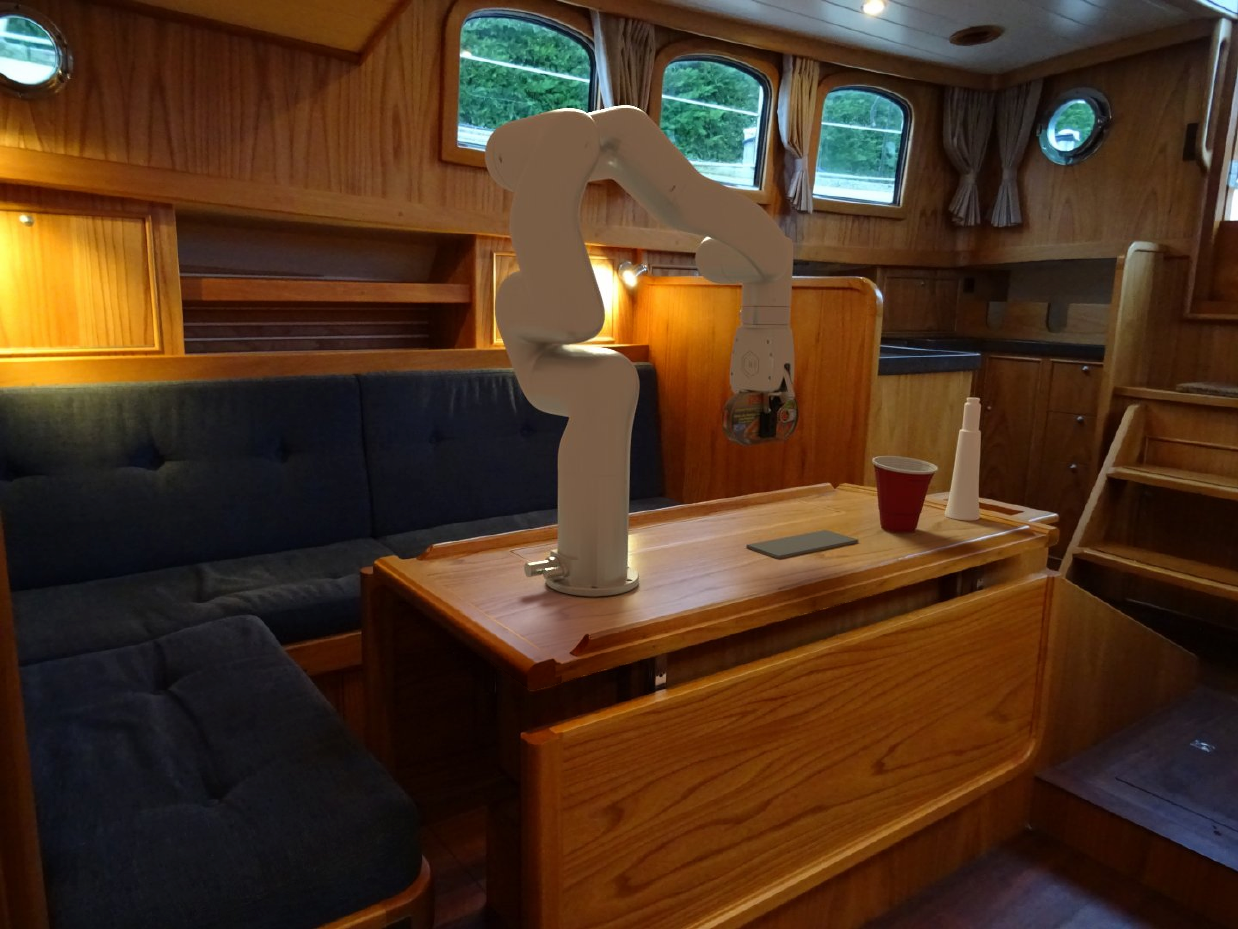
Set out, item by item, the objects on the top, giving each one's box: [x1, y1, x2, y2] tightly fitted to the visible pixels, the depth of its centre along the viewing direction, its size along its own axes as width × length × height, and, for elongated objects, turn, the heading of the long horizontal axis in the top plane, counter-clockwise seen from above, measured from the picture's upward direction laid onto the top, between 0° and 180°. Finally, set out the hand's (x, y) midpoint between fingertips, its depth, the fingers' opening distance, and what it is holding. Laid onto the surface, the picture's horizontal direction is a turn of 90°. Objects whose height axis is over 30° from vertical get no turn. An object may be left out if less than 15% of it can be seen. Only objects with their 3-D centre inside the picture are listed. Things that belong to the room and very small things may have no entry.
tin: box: [721, 392, 800, 447], centre depth 135 cm, size 15×3×8 cm, turn 126°
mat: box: [745, 529, 859, 560], centre depth 136 cm, size 18×7×1 cm, turn 124°
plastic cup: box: [871, 455, 939, 534], centre depth 146 cm, size 11×11×12 cm
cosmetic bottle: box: [944, 397, 982, 522], centre depth 155 cm, size 6×6×22 cm
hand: (759, 434), depth 135 cm, fingers closed on tin, 2 cm apart
